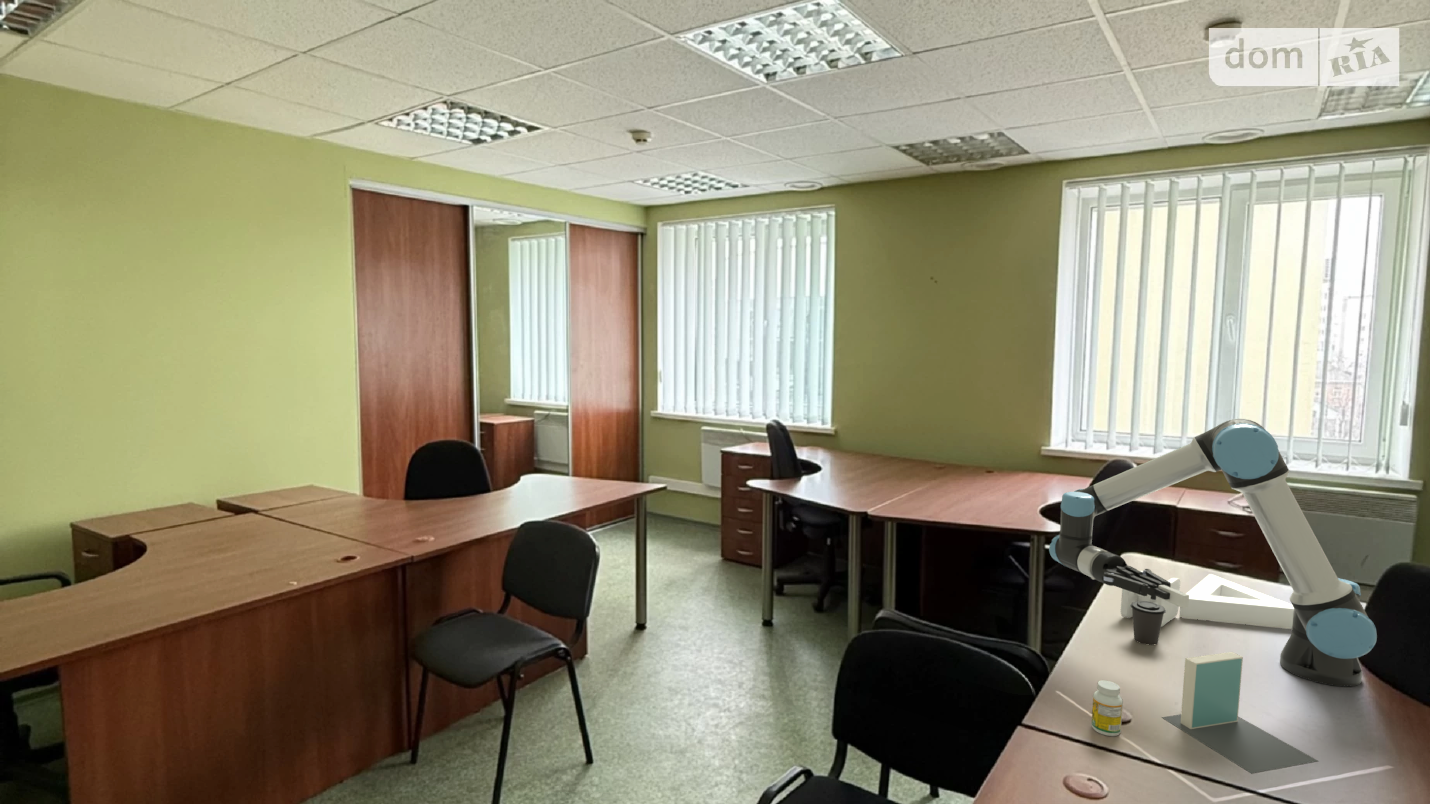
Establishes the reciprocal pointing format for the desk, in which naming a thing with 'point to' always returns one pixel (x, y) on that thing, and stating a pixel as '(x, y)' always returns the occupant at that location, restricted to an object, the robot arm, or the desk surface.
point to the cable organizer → (1132, 597)
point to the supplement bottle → (1107, 709)
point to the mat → (1246, 745)
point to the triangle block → (1236, 605)
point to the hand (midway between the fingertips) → (1185, 601)
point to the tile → (1211, 690)
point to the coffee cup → (1147, 621)
